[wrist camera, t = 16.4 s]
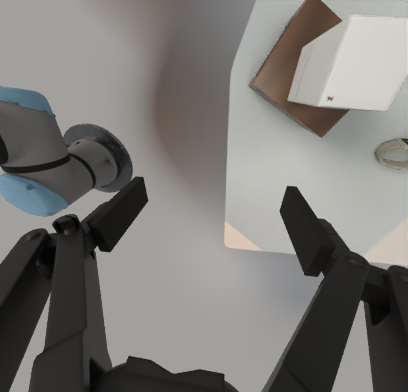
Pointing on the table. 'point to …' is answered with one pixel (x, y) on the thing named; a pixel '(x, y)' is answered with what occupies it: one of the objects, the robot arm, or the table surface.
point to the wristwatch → (389, 146)
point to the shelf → (287, 63)
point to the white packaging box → (354, 64)
